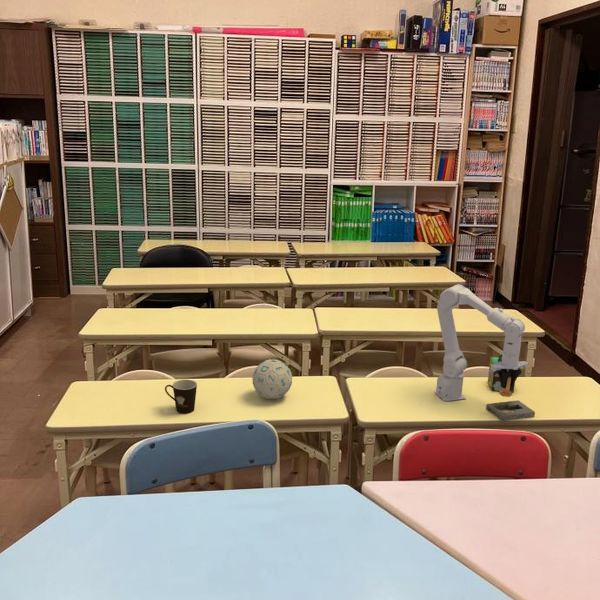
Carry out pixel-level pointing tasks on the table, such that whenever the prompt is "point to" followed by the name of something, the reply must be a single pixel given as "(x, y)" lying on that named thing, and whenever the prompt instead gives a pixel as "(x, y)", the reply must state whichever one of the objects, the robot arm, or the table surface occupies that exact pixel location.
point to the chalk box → (496, 375)
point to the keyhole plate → (517, 414)
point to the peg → (506, 389)
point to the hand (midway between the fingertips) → (506, 387)
